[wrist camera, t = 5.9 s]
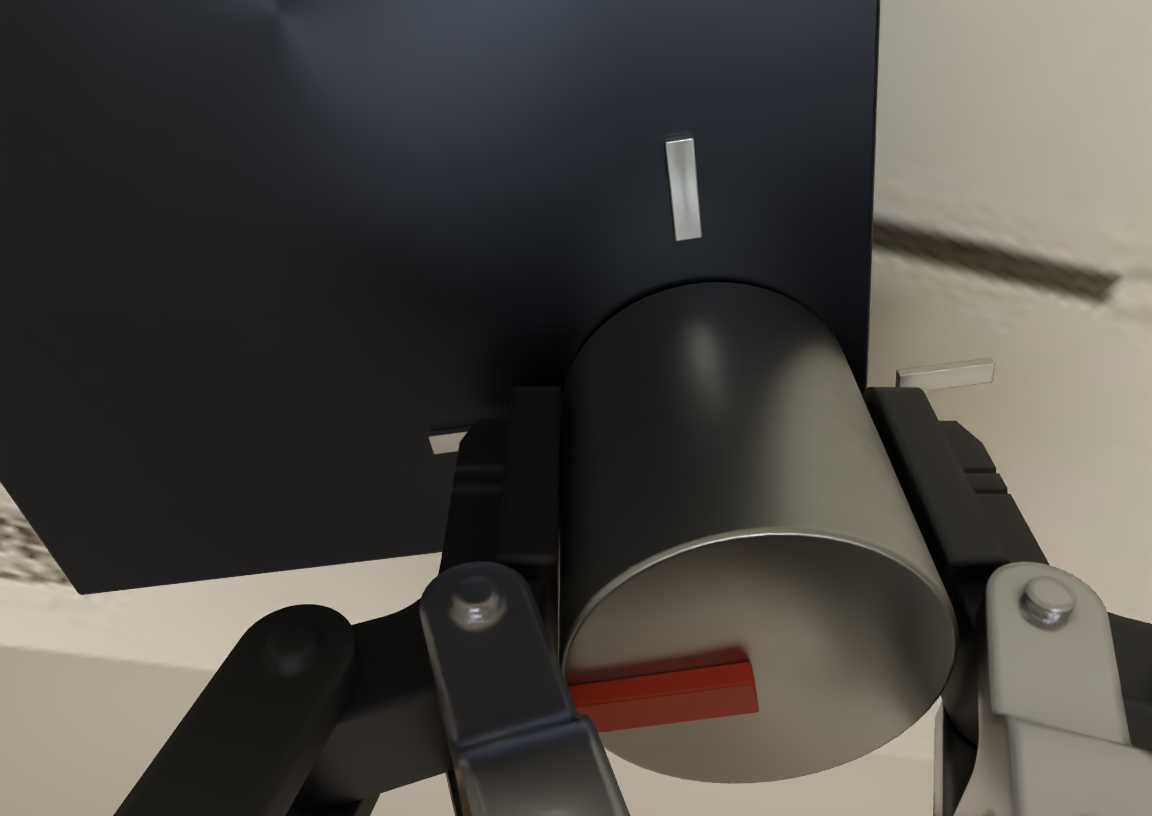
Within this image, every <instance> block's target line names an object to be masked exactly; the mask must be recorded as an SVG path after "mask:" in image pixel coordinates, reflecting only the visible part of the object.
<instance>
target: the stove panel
mask: <svg viewBox="0 0 1152 816" xmlns="http://www.w3.org/2000/svg"><path fill="white" fill-rule="evenodd" d="M879 29H880V0H0V482H1V483H2V485H3V486H4V488H5V489H6V491H7V492H8V494H9V495H10V496H11V498H12V499H13V501H14V502H15V504H16V505H17V506H18V508H19V509H20V511H21V512H22V514H23V515H24V516H25V518H26V519H27V521H28V522H29V524H30V525H31V526H32V528H33V529H34V531H35V532H36V534H37V535H38V536H39V538H40V539H41V541H42V542H43V544H44V545H45V546H46V548H47V549H48V551H49V552H50V554H51V555H52V556H53V558H54V559H55V561H56V562H57V564H58V565H59V566H60V568H61V569H62V571H63V572H64V574H65V575H66V576H67V578H68V579H69V581H70V582H71V584H72V585H73V587H74V588H75V589H76V591H77V592H78V593H79V594H80V595H85V594H93V593H102V592H110V591H119V590H127V589H135V588H144V587H152V586H161V585H169V584H177V583H186V582H194V581H202V580H211V579H219V578H228V577H236V576H244V575H253V574H261V573H270V572H278V571H286V570H295V569H303V568H312V567H320V566H328V565H337V564H345V563H354V562H362V561H370V560H379V559H387V558H395V557H404V556H412V555H421V554H429V553H437V552H443V545H444V539H445V532H446V526H447V519H448V513H449V507H450V500H451V494H452V492H453V489H452V487H453V481H454V474H455V472H456V462H457V455H458V449H459V442H460V441H461V440H462V438H463V437H464V436H465V434H466V433H467V432H468V431H469V429H470V428H471V427H472V426H473V424H474V423H475V422H476V421H477V420H509V417H510V406H511V395H512V387H513V386H561V402H562V395H563V388H564V385H565V382H566V378H567V375H568V372H569V370H570V368H571V366H572V364H573V362H574V360H575V358H576V356H577V355H578V353H579V352H580V350H581V349H582V347H583V346H584V344H585V343H586V342H587V341H588V340H589V339H590V337H591V336H592V335H593V334H594V333H595V332H596V331H597V330H598V329H599V328H600V327H601V326H602V325H603V324H604V323H606V322H607V321H608V320H609V319H610V318H611V317H613V316H614V315H616V314H617V313H619V312H620V311H622V310H623V309H625V308H626V307H628V306H629V305H631V304H633V303H635V302H637V301H639V300H641V299H643V298H645V297H647V296H650V295H653V294H656V293H658V292H661V291H664V290H667V289H671V288H675V287H679V286H683V285H689V284H697V283H705V282H729V283H738V284H747V285H751V286H756V287H760V288H764V289H767V290H770V291H773V292H775V293H778V294H781V295H783V296H786V297H788V298H789V299H791V300H793V301H795V302H797V303H799V304H801V305H802V306H804V307H805V308H806V309H808V310H809V311H810V312H812V313H813V314H814V315H816V316H817V317H818V318H819V319H820V320H821V321H822V322H823V323H824V324H825V325H826V326H827V327H828V329H829V330H830V331H831V333H832V334H833V335H834V337H835V338H836V340H837V341H838V343H839V345H840V347H841V349H842V351H843V353H844V355H845V358H846V360H847V362H848V365H849V367H850V369H851V372H852V374H853V376H854V378H855V381H856V383H857V385H858V388H859V390H860V392H861V395H862V396H863V393H864V392H865V390H866V389H867V381H868V351H869V322H870V293H871V263H872V234H873V205H874V176H875V146H876V117H877V88H878V58H879ZM994 368H995V362H994V361H993V359H992V358H985V359H978V360H970V361H962V362H955V363H947V364H940V365H932V366H924V367H917V368H909V369H901V370H897V371H896V387H919V388H921V389H922V390H923V391H929V390H937V389H945V388H952V387H960V386H968V385H976V384H983V383H991V382H993V375H994Z"/></svg>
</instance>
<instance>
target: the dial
mask: <svg viewBox="0 0 1152 816" xmlns="http://www.w3.org/2000/svg"><path fill="white" fill-rule="evenodd" d="M958 644H959V637H958V623H957V620H956V616H955V612H954V608H953V606H952V604H951V601H950V599H949V597H948V594H947V592H946V590H945V587H944V585H943V583H942V580H941V578H940V576H939V574H938V571H937V569H936V567H935V564H934V562H933V560H932V557H931V555H930V553H929V550H928V548H927V546H926V543H925V541H924V539H923V536H922V534H921V532H920V529H919V527H918V525H917V522H916V520H915V518H914V515H913V513H912V511H911V509H910V506H909V504H908V502H907V499H906V497H905V495H904V492H903V490H902V488H901V485H900V483H899V481H898V478H897V476H896V474H895V471H894V469H893V467H892V464H891V462H890V460H889V457H888V455H887V453H886V450H885V448H884V446H883V443H882V441H881V439H880V437H879V434H878V432H877V430H876V427H875V425H874V423H873V420H872V418H871V416H870V413H869V411H868V409H867V406H866V404H865V402H864V399H863V397H862V395H861V392H860V390H859V388H858V385H857V383H856V381H855V378H854V376H853V374H852V372H851V369H850V367H849V365H848V362H847V360H846V358H845V355H844V353H843V351H842V349H841V347H840V345H839V343H838V341H837V340H836V338H835V337H834V335H833V334H832V333H831V331H830V330H829V329H828V327H827V326H826V325H825V324H824V323H823V322H822V321H821V320H820V319H819V318H818V317H817V316H816V315H814V314H813V313H812V312H810V311H809V310H808V309H806V308H805V307H804V306H802V305H801V304H799V303H797V302H795V301H793V300H791V299H789V298H788V297H786V296H783V295H781V294H778V293H775V292H773V291H770V290H767V289H764V288H760V287H756V286H751V285H747V284H738V283H729V282H705V283H697V284H689V285H683V286H679V287H675V288H671V289H667V290H664V291H661V292H658V293H656V294H653V295H650V296H647V297H645V298H643V299H641V300H639V301H637V302H635V303H633V304H631V305H629V306H628V307H626V308H625V309H623V310H622V311H620V312H619V313H617V314H616V315H614V316H613V317H611V318H610V319H609V320H608V321H607V322H606V323H604V324H603V325H602V326H601V327H600V328H599V329H598V330H597V331H596V332H595V333H594V334H593V335H592V336H591V337H590V339H589V340H588V341H587V342H586V343H585V344H584V346H583V347H582V349H581V350H580V352H579V353H578V355H577V356H576V358H575V360H574V362H573V364H572V366H571V368H570V370H569V372H568V375H567V378H566V382H565V385H564V388H563V395H562V402H561V493H560V597H559V665H560V668H561V670H562V673H563V676H564V678H565V681H566V684H567V686H568V689H569V692H570V694H571V697H572V700H573V702H574V705H575V707H576V709H577V711H578V713H579V714H580V715H581V714H587V715H588V716H589V717H590V718H591V720H592V721H593V723H594V725H595V727H596V729H597V732H598V734H599V737H600V739H601V742H602V744H603V747H604V748H606V749H607V750H608V751H610V752H612V753H614V754H615V755H617V756H619V757H620V758H622V759H624V760H626V761H628V762H630V763H633V764H635V765H638V766H640V767H642V768H645V769H648V770H651V771H654V772H657V773H660V774H664V775H668V776H672V777H677V778H681V779H687V780H694V781H701V782H712V783H757V782H770V781H777V780H784V779H790V778H796V777H800V776H805V775H809V774H813V773H818V772H821V771H824V770H827V769H831V768H834V767H837V766H840V765H842V764H845V763H847V762H850V761H852V760H855V759H857V758H860V757H862V756H864V755H866V754H868V753H870V752H872V751H874V750H876V749H878V748H880V747H882V746H883V745H885V744H886V743H888V742H890V741H891V740H893V739H894V738H896V737H898V736H899V735H900V734H902V733H903V732H904V731H906V730H907V729H908V728H909V727H911V726H912V725H913V724H915V723H916V722H917V721H918V720H919V719H920V718H921V717H922V716H923V715H924V714H925V713H926V712H927V711H928V710H929V709H930V708H931V706H932V705H933V704H934V703H935V701H936V700H937V699H938V698H939V696H940V695H941V693H942V692H943V690H944V688H945V686H946V685H947V683H948V681H949V679H950V677H951V674H952V671H953V669H954V666H955V663H956V657H957V651H958Z"/></svg>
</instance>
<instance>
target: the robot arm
mask: <svg viewBox="0 0 1152 816" xmlns="http://www.w3.org/2000/svg"><path fill="white" fill-rule="evenodd" d="M862 397H863V399H864V402H865V404H866V406H867V409H868V411H869V413H870V416H871V418H872V420H873V423H874V425H875V427H876V430H877V432H878V434H879V437H880V439H881V441H882V443H883V446H884V448H885V450H886V453H887V455H888V457H889V460H890V462H891V464H892V467H893V469H894V471H895V474H896V476H897V478H898V481H899V483H900V485H901V488H902V490H903V492H904V495H905V497H906V499H907V502H908V504H909V506H910V509H911V511H912V513H913V515H914V518H915V520H916V522H917V525H918V527H919V529H920V532H921V534H922V536H923V539H924V541H925V543H926V546H927V548H928V550H929V553H930V555H931V557H932V560H933V562H934V564H935V567H936V569H937V571H938V574H939V576H940V578H941V580H942V583H943V585H944V587H945V590H946V592H947V594H948V597H949V599H950V601H951V604H952V606H953V608H954V612H955V616H956V620H957V623H958V637H959V644H958V651H957V657H956V663H955V666H954V669H953V671H952V674H951V677H950V679H949V681H948V683H947V685H946V686H945V688H944V690H943V692H942V693H941V697H942V701H941V704H940V706H939V709H938V712H937V714H936V717H935V735H934V805H933V806H934V808H933V816H1152V624H1150V623H1145V622H1141V621H1137V620H1133V619H1129V618H1125V617H1122V616H1118V615H1115V614H1112V613H1109V612H1107V610H1106V608H1105V606H1104V604H1103V602H1102V600H1101V599H1100V598H1099V597H1098V595H1097V594H1096V593H1095V592H1094V591H1093V590H1092V589H1091V588H1090V587H1089V586H1088V585H1086V584H1085V583H1084V582H1083V581H1081V580H1080V579H1078V578H1077V577H1075V576H1073V575H1072V574H1070V573H1068V572H1066V571H1064V570H1061V569H1059V568H1056V567H1053V566H1050V565H1049V563H1048V561H1047V559H1046V558H1045V556H1044V554H1043V552H1042V550H1041V549H1040V547H1039V545H1038V543H1037V541H1036V539H1035V538H1034V536H1033V534H1032V532H1031V530H1030V529H1029V527H1028V525H1027V523H1026V521H1025V520H1024V518H1023V516H1022V514H1021V512H1020V510H1019V509H1018V507H1017V505H1016V503H1015V501H1014V500H1013V498H1012V496H1011V494H1008V493H1007V487H1006V485H1005V483H1004V481H1003V480H1002V478H1001V476H1000V474H999V473H996V467H995V465H994V463H993V462H992V460H991V458H990V456H989V454H988V452H987V451H986V449H985V447H984V445H983V443H982V442H980V441H979V440H978V439H977V438H976V437H975V436H973V435H972V434H971V433H970V432H969V431H967V430H966V429H965V428H964V427H963V426H961V425H960V424H959V423H958V422H957V421H938V419H937V417H936V415H935V413H934V411H933V409H932V407H931V405H930V403H929V401H928V399H927V397H926V395H925V393H924V391H923V390H922V389H921V388H919V387H868V388H867V389H866V390H865V392H864V393H863V396H862ZM452 489H453V492H452V494H451V500H450V507H449V513H448V519H447V526H446V532H445V539H444V545H443V552H442V558H441V564H440V569H439V573H438V576H437V577H436V578H434V579H433V580H432V581H431V582H430V584H429V585H428V586H427V587H426V589H425V591H424V592H423V595H422V597H421V598H420V599H419V600H417V601H416V602H415V603H413V604H412V605H410V606H408V607H407V608H405V609H403V610H401V611H398V612H396V613H393V614H390V615H387V616H384V617H380V618H377V619H373V620H369V621H365V622H362V623H358V624H354V625H351V624H350V623H349V621H348V620H347V619H346V618H345V617H344V616H343V615H342V614H340V613H339V612H337V611H335V610H333V609H331V608H328V607H325V606H321V605H314V604H302V605H294V606H290V607H286V608H282V609H280V610H277V611H274V612H272V613H270V614H268V615H266V616H265V617H263V618H262V619H260V620H259V621H257V622H256V623H255V624H253V625H252V626H251V627H250V628H249V629H248V630H247V631H246V632H245V634H244V635H243V636H242V637H241V639H240V640H239V641H238V643H237V644H236V646H235V647H234V648H233V650H232V651H231V653H230V654H229V655H228V657H227V658H226V659H225V661H224V662H223V664H222V665H221V666H220V668H219V669H218V671H217V672H216V673H215V675H214V676H213V678H212V679H211V680H210V682H209V683H208V685H207V686H206V687H205V689H204V690H203V692H202V693H201V694H200V696H199V697H198V698H197V700H196V701H195V703H194V704H193V705H192V707H191V708H190V710H189V711H188V712H187V714H186V715H185V717H184V718H183V719H182V721H181V722H180V723H179V725H178V726H177V728H176V729H175V730H174V732H173V733H172V735H171V736H170V738H169V739H168V740H167V742H166V743H165V744H164V746H163V747H162V749H161V750H160V751H159V753H158V754H157V755H156V757H155V758H154V760H153V761H152V763H151V764H150V765H149V767H148V768H147V769H146V771H145V772H144V774H143V775H142V777H141V778H140V779H139V781H138V782H137V783H136V785H135V786H134V788H133V789H132V791H131V792H130V793H129V794H128V796H127V797H126V799H125V800H124V801H123V803H122V804H121V806H120V807H119V808H118V810H117V811H116V813H115V814H114V815H113V816H370V814H371V812H372V810H373V808H374V806H375V804H376V802H377V800H378V798H379V795H380V793H383V792H386V791H389V790H392V789H395V788H398V787H401V786H404V785H408V784H411V783H414V782H417V781H420V780H423V779H426V778H429V777H433V776H436V775H439V774H442V773H446V778H447V782H448V786H449V791H450V795H451V799H452V803H453V808H454V812H455V816H630V814H629V811H628V809H627V806H626V804H625V801H624V798H623V796H622V793H621V791H620V788H619V786H618V783H617V780H616V778H615V775H614V773H613V770H612V768H611V765H610V762H609V760H608V757H607V755H606V752H605V749H604V747H603V744H602V742H601V739H600V737H599V734H598V732H597V729H596V727H595V725H594V723H593V721H592V720H591V718H590V717H589V716H588V715H587V714H581V715H580V714H579V713H578V711H577V709H576V707H575V705H574V702H573V700H572V697H571V694H570V692H569V689H568V686H567V684H566V681H565V678H564V676H563V673H562V670H561V668H560V665H559V597H560V493H561V386H513V387H512V395H511V406H510V417H509V420H477V421H476V422H475V423H474V424H473V426H472V427H471V428H470V429H469V431H468V432H467V433H466V434H465V436H464V437H463V438H462V440H461V441H460V442H459V449H458V455H457V462H456V472H455V474H454V481H453V487H452Z"/></svg>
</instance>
